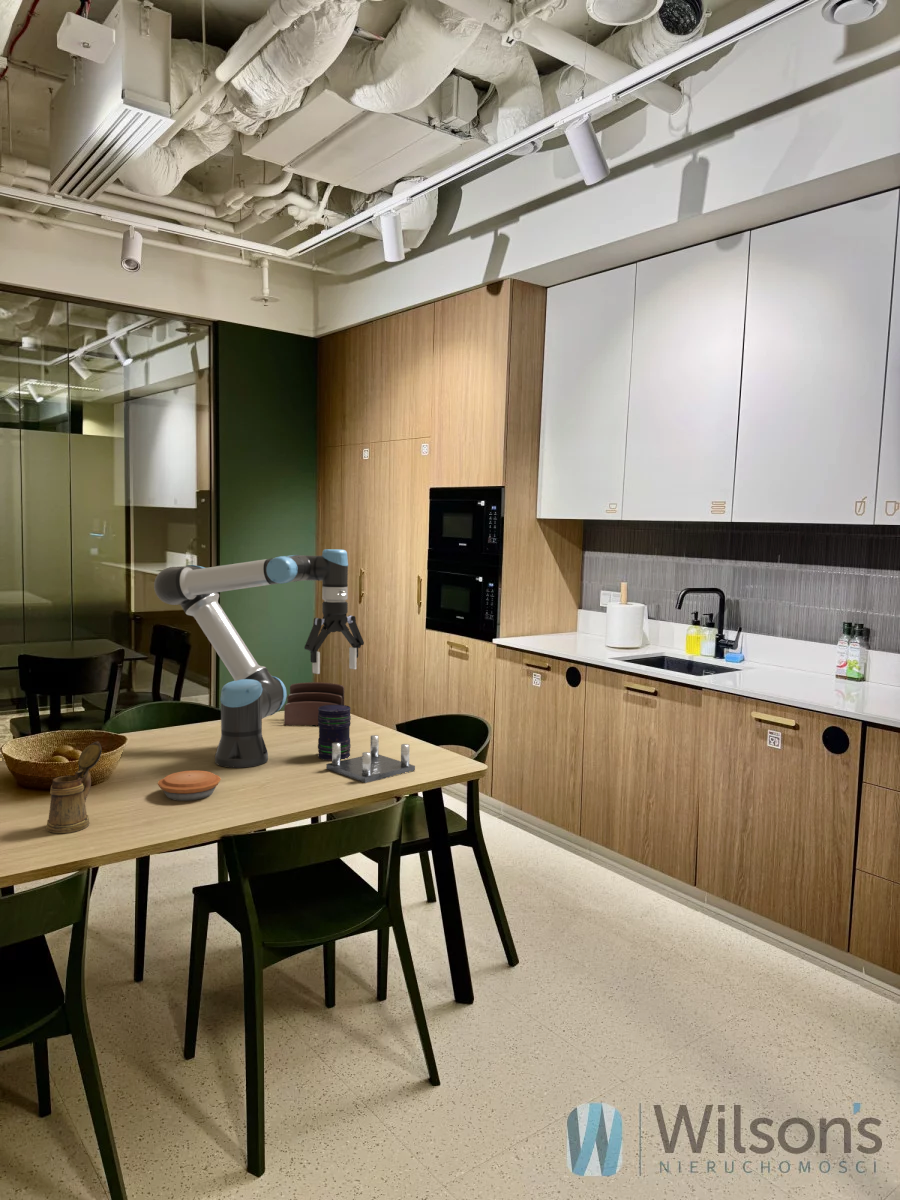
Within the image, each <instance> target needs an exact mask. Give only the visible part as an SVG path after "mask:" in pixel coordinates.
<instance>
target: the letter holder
mask: <svg viewBox="0 0 900 1200" xmlns="http://www.w3.org/2000/svg"><path fill="white" fill-rule="evenodd" d="M324 705H345V687H344V685H342V684H338V683H332V682H318V681H317V682H316V681H315V682H312V681H311V682H310V681H309V682H298V683H297V682H296V683H292V684H290V686H289V694H288V695H287V697H286V703H285V704H284V705H283V707H284V708H283V709H284V710H283V712H284V714H283V717H284V718H283V719H284V720H283V723H284V726H292V725H316V726H315V727H318V726H317V725H318V712H319V711H318V708H319V707H320V706H324Z"/></svg>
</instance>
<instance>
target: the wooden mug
mask: <svg viewBox="0 0 900 1200" xmlns="http://www.w3.org/2000/svg"><path fill="white" fill-rule="evenodd" d="M102 751H103V749H102V745H101V743H100V741H98V740H97V741H95V742H92V743H90V744H89V745H88V746H85V748H83V750H82V751H81V752H80V755H79V757H78V764H77V765H78V770H77V771H76V772H75V773H74V775H63V776H58V777H55V778H53V779H52V783H51V786H50V792H49V794H50V804H49V805H50V806H49V813H48V819H47V821H46V826H45V830H46V831H47V832H48V833H49V832H50V833H52V834H69V833H75V832H79V831H82V830H85V829H86V828H88V826H89V825H90V818H89V815H88V814H87V808H86V807H87V806H86V802H87V799H88V796H89V793H90V791H91V790H90V789H91V786H92V776H91V773H90V770H91V769H93V767H95V766H96V764H97V763H98V762H99V760H100V758H101V756H102Z"/></svg>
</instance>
